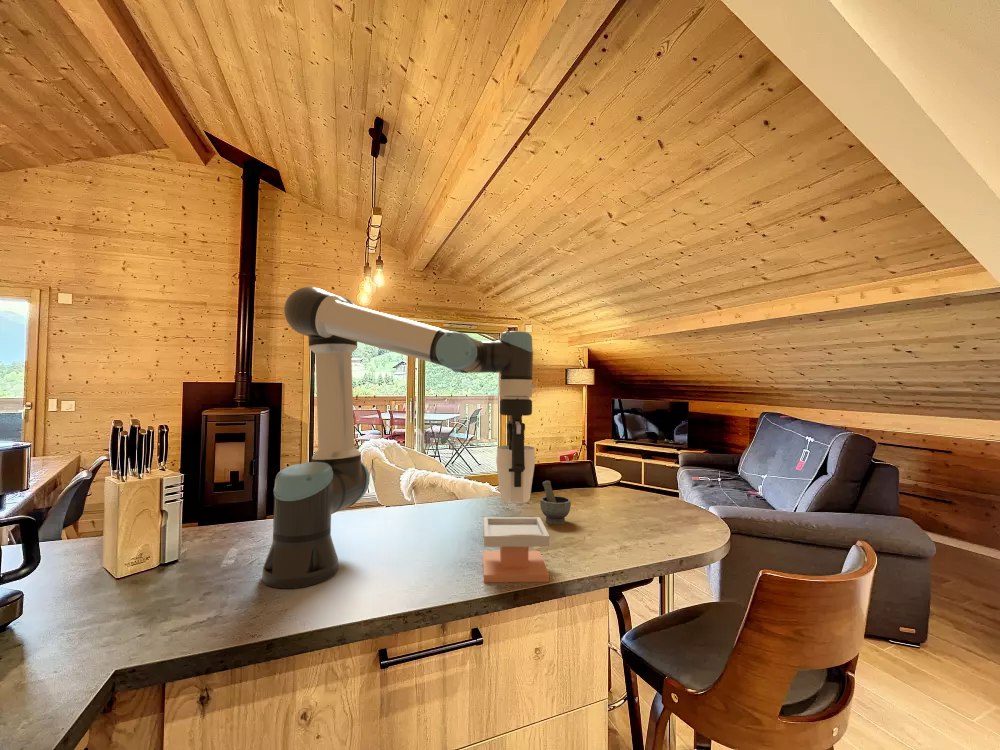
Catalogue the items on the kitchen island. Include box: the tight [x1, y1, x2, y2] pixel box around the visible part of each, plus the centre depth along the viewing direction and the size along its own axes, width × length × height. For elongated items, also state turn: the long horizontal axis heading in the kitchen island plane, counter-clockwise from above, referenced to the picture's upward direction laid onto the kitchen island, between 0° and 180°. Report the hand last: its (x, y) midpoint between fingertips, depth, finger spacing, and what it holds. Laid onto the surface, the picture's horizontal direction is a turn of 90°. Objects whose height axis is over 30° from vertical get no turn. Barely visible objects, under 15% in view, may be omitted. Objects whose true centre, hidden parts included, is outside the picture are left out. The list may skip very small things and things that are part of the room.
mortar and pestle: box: [539, 480, 572, 526], centre depth 139 cm, size 11×9×12 cm
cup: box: [495, 444, 536, 504], centre depth 102 cm, size 9×9×12 cm
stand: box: [482, 516, 550, 583], centre depth 102 cm, size 14×14×10 cm
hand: (515, 496), depth 102 cm, fingers closed on cup, 9 cm apart
